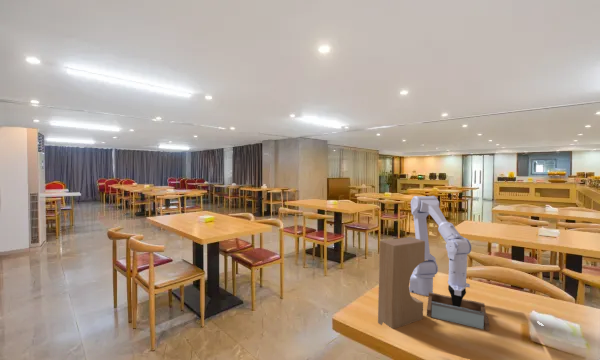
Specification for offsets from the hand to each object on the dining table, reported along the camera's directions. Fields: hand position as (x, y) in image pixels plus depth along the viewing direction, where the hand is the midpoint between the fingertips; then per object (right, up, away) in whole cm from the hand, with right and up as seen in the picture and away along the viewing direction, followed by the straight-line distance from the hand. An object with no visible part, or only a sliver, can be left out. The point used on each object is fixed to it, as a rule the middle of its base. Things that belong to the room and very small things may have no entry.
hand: (456, 307), depth 102 cm
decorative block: (-21, -5, -2) cm, 22 cm away
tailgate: (-2, -4, -4) cm, 6 cm away
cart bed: (+1, -5, +1) cm, 5 cm away
